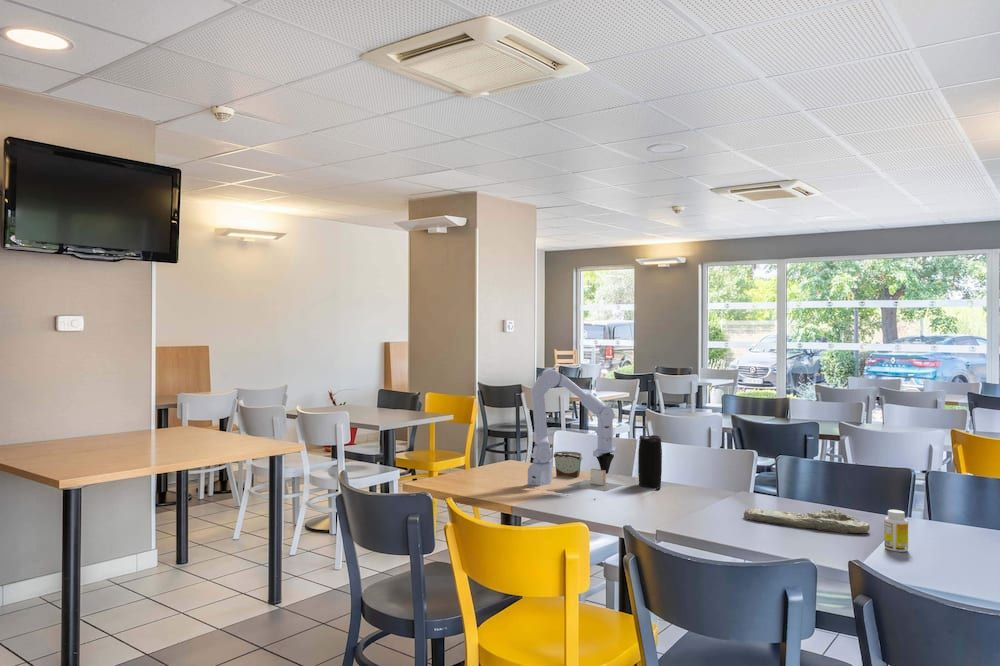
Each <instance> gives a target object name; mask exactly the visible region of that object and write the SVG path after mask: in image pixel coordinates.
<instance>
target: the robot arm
mask: <svg viewBox="0 0 1000 666" xmlns="http://www.w3.org/2000/svg"><path fill="white" fill-rule="evenodd" d="M556 386H558V387H562V388H565V389H567V390H568V391H569V392H570V393H572V394H573V395H574V396H576V397H577V398H579V399H580V403H581V405H582V406H583V407H584V408H586V409H587V410H588V411H590V412H591V413H592V414H593V415H595V416H596V417H597V448H596V449H595V450H593V451H592V452H593V453H592V456H593V457H596V459H597V461H598V464H599V467H600V470H606V474H607V475H608V474H609V472H610V466H611V463H612V461H613V459H614V457H615V454H613V453H617V446H613V445H614V443H613V442H614V425H613V423H614V422H613V421H614V419H615V415H616V414H615V412H614V409H613V408H612V407H610V406H609V405H607V402H605V401H603V400H601V399H600V398H598V397H597V396H598V395H597V394H596V393H595V392H593V393H592V392H586V391H584V390H583V389H582V388H581V387H579V386H578V385H577V384H576V383H575V382H573V380H572V379H570V378H568V376H565V375H564V374H562V373H561V372H559V371H558V370H556V369H553V368H545V369H543V371H542V372H540V373H539V374H538V376H537V379H536V380H535V382H534V383H533V386H532V387H531V389H530V390H531V402H532V415H533V416H532V417H533V426H534V446H533V449H532V451H533V452H532V453H533V455H534V458H533V460H532V464H530V465H529V466H528V468H527V484H526V486H527V485H528V486H529V485H533V486H538V487H541V486H546V485H551V484H552V483H553V460H551V459H552V458H553V451H552V449H551V447H550V441H549V437H548V426H547V425H548V424H547V414H546V403H545V402H546V401H545V395H546V393H548V392H549V390H550V389H552V388H554V387H556Z"/></svg>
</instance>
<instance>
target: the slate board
mask: <svg viewBox="0 0 1000 666" xmlns="http://www.w3.org/2000/svg"><path fill="white" fill-rule="evenodd" d="M567 486H568V487H574V488H581V489H586V490H587V489H588V490H594V491H600V492H608V491H611V490H615V489H616V488H619V487H623V486H624V484H618V483H613V482H610V483H609V482H606V485H604V486H602V485H596V484H591V479H584V480H580V481H577V482H573V483H570V484H567V485H566V487H567Z"/></svg>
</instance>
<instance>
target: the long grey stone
mask: <svg viewBox="0 0 1000 666" xmlns="http://www.w3.org/2000/svg"><path fill="white" fill-rule="evenodd" d="M743 518H744V519H745V518H746V519H745V520H747V519H750V520H749V521H754V520H756V522H762V523H766V522H767V524H772V523H773V525H776V524H779V525H778V526H785V525H787V526H786V527H791V526H794V527H793V528H798V527H799V528H801V529H815V530H819V531H824V532H834V533H835V532H836V533H840V532H842V533H841V534H849V533H852V534H859V533H861V534H868V533H869V531H870V529H871V528H870V527H871V526H870V524H869V523H868V522H866V521H862V520H860V519H857V518H856V517H855V516H853V515H850V514H847V515H846V513H844V512H839V511H836V509H833V508H832V509H826V510H822V511H820V512H818V511H817V512H816V511H815V512H812V513H809V512H807V513H799V512H794V511H793V512H791V511H790V512H789V511H780V510H770V509H763V508H757V507H756V508H755V507H754V508H748V509H745V510H744V512H743ZM780 524H781V525H780Z"/></svg>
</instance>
